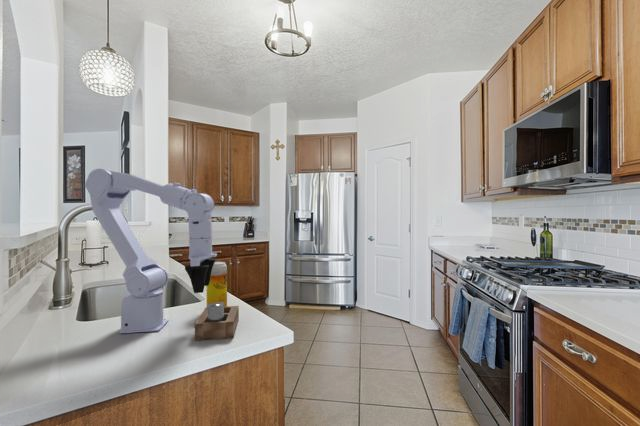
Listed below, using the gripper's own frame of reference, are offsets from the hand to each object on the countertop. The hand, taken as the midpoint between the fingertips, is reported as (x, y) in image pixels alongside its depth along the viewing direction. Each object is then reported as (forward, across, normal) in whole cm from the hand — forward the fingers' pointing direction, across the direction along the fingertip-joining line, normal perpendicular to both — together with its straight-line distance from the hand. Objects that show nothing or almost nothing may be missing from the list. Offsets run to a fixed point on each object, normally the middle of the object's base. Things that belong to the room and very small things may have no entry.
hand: (201, 288), depth 82 cm
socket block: (+10, -2, -4) cm, 12 cm away
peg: (+10, -5, -4) cm, 12 cm away
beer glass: (+11, +14, -1) cm, 18 cm away
